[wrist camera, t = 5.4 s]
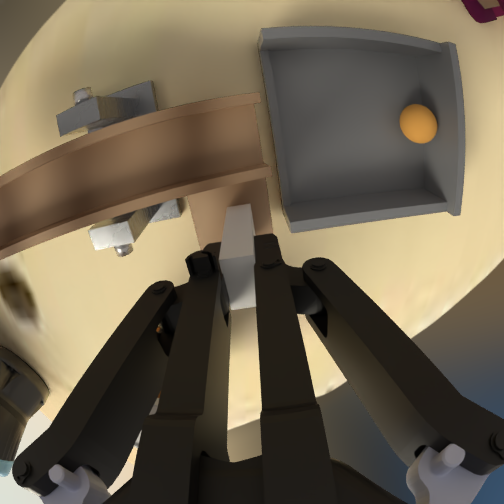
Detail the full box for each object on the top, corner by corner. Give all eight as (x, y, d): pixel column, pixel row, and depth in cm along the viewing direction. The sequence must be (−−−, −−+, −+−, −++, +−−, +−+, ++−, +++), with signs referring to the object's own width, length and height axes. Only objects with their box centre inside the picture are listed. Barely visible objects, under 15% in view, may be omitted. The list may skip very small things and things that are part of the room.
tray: (282, 212, 22) (293, 239, 18) (257, 43, 16) (262, 23, 11) (427, 195, 22) (460, 215, 17) (419, 50, 15) (455, 44, 11)
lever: (9, 320, 17) (-4, 345, 14) (-43, 207, 11) (-66, 222, 8) (271, 249, 21) (289, 271, 18) (248, 96, 16) (265, 90, 13)
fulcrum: (118, 227, 22) (84, 266, 16) (86, 106, 17) (37, 110, 11) (181, 214, 22) (161, 253, 16) (152, 81, 17) (117, 70, 11)
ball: (436, 142, 18) (401, 139, 20) (435, 105, 16) (399, 103, 18) (438, 148, 16) (398, 144, 17) (437, 105, 14) (396, 102, 16)
